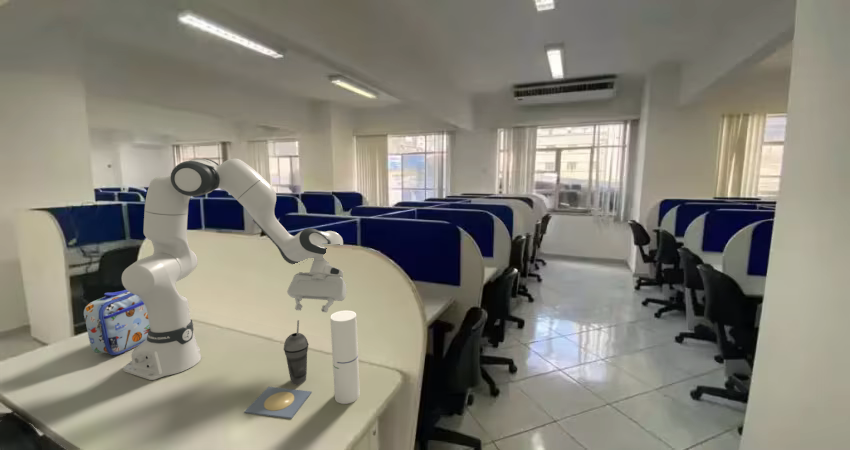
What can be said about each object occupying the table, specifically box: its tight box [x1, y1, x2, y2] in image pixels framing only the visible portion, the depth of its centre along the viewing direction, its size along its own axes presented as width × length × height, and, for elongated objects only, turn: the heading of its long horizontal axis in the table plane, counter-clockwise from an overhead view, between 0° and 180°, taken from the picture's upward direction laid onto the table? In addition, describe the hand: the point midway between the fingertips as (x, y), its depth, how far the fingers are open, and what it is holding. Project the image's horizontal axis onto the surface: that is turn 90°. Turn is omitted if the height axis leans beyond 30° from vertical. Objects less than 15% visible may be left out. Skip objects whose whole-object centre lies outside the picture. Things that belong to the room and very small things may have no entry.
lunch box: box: [83, 289, 150, 356], centre depth 132 cm, size 28×10×22 cm, turn 169°
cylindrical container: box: [330, 309, 361, 405], centre depth 101 cm, size 7×7×25 cm
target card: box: [244, 386, 313, 420], centre depth 100 cm, size 14×11×1 cm
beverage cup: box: [283, 319, 309, 386], centre depth 109 cm, size 7×7×20 cm
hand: (310, 310), depth 117 cm, fingers open, 8 cm apart
